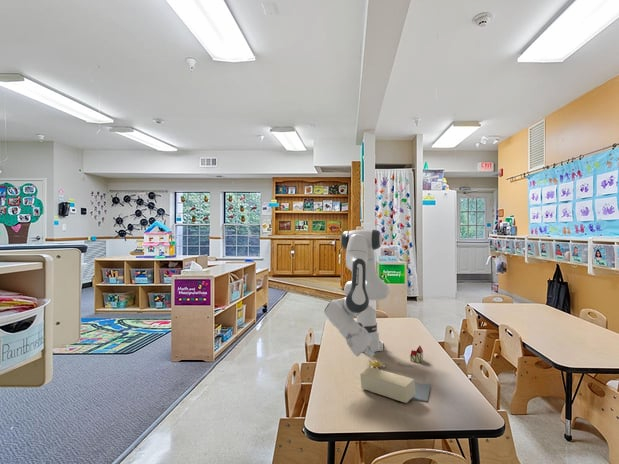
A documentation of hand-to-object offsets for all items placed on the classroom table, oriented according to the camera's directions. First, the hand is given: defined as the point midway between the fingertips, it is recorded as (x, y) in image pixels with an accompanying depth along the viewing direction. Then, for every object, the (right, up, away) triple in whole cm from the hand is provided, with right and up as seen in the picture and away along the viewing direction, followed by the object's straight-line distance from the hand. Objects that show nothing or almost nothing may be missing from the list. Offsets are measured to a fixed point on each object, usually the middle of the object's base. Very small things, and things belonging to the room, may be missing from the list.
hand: (373, 356), depth 156 cm
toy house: (+26, -13, +27) cm, 40 cm away
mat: (+11, -12, -5) cm, 17 cm away
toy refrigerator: (-4, -9, -2) cm, 10 cm away
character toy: (+4, -13, +17) cm, 22 cm away
